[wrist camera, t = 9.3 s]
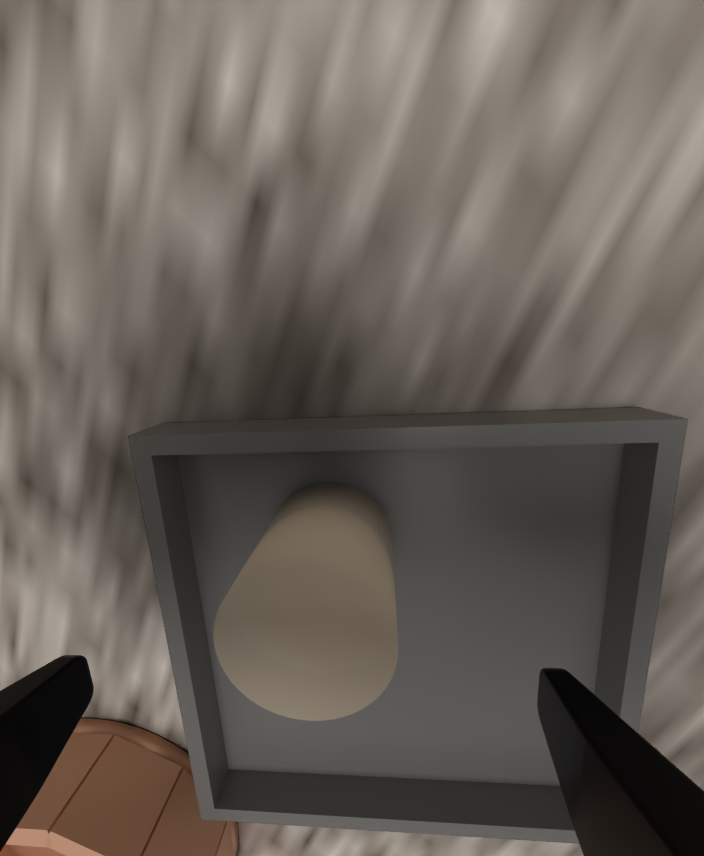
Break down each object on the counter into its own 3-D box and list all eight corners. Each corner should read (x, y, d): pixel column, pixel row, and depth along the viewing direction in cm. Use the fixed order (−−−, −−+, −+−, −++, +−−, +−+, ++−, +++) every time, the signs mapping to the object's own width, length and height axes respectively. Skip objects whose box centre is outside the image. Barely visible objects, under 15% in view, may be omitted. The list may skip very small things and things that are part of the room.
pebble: (390, 480, 12) (396, 563, 7) (393, 590, 12) (400, 724, 8) (267, 482, 12) (201, 563, 8) (278, 589, 13) (226, 717, 8)
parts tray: (638, 407, 11) (687, 418, 9) (590, 784, 14) (620, 846, 13) (163, 422, 12) (128, 436, 10) (221, 766, 16) (201, 819, 14)
